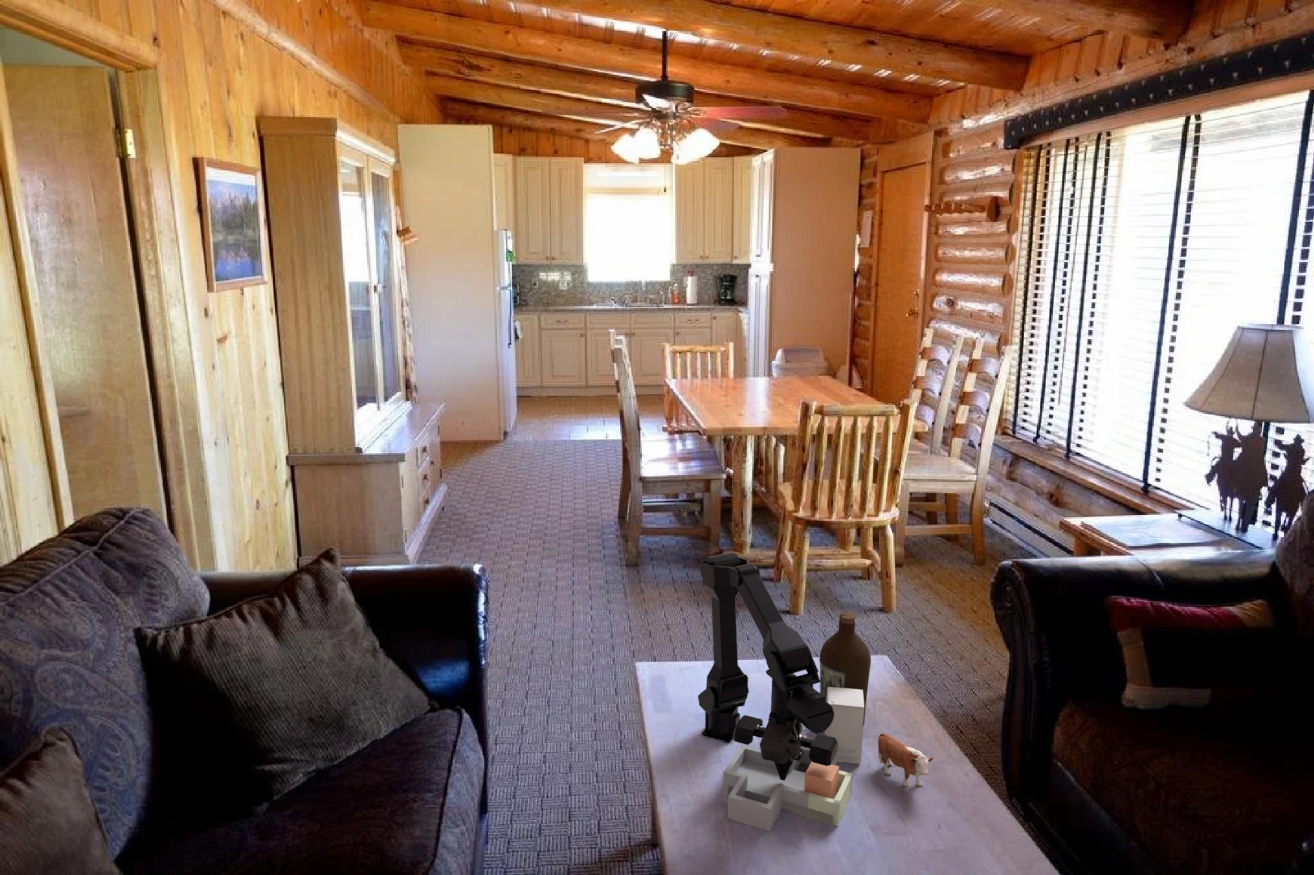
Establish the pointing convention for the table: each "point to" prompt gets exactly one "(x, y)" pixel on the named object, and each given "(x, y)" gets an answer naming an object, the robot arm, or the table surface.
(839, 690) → the supplement box
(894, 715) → the table surface
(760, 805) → the trap lane
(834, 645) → the olive oil
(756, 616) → the robot arm
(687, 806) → the table surface
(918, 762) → the bull figurine
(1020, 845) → the table surface
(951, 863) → the table surface
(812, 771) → the block
